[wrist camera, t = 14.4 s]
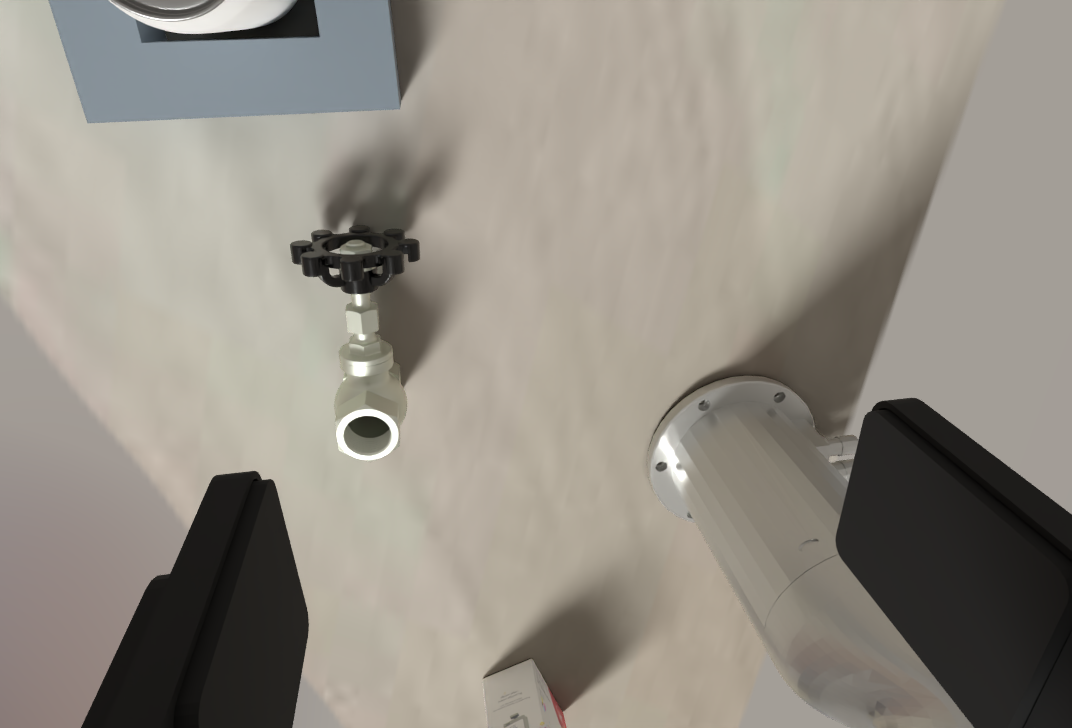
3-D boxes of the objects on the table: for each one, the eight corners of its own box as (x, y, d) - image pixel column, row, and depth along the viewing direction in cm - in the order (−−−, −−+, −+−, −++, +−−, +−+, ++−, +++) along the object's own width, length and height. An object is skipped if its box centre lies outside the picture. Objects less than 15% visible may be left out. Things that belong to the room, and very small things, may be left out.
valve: (428, 403, 44) (418, 224, 39) (430, 462, 38) (419, 260, 33) (324, 409, 43) (299, 225, 38) (310, 470, 37) (278, 264, 32)
